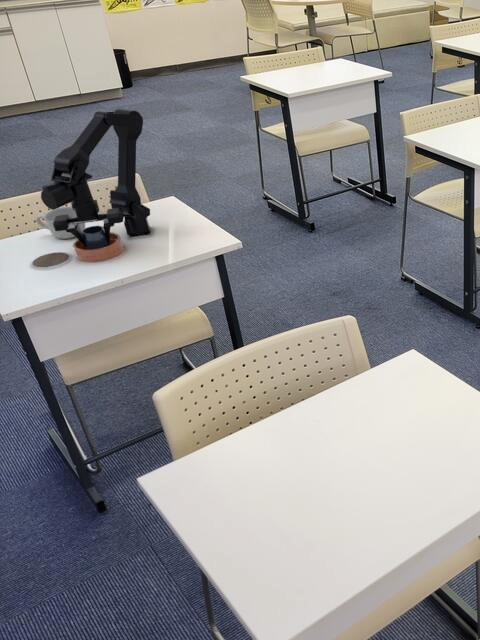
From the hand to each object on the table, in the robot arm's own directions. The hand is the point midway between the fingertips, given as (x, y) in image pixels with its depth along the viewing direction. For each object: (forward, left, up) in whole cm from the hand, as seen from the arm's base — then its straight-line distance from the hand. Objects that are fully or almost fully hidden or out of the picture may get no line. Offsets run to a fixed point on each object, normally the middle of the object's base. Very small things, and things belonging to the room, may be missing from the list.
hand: (98, 245), depth 215 cm
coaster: (+14, 0, -3) cm, 14 cm away
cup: (0, 0, -2) cm, 2 cm away
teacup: (+12, -19, -3) cm, 23 cm away
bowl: (0, 0, -3) cm, 3 cm away
